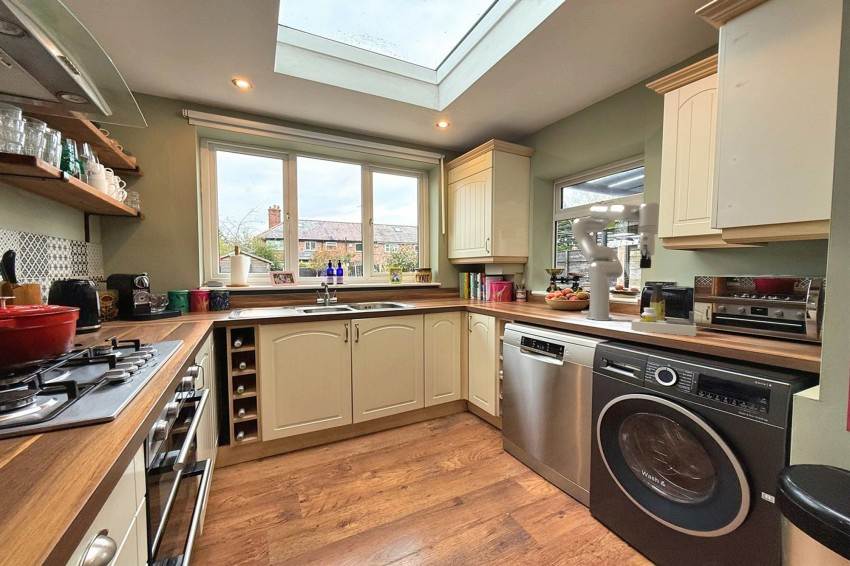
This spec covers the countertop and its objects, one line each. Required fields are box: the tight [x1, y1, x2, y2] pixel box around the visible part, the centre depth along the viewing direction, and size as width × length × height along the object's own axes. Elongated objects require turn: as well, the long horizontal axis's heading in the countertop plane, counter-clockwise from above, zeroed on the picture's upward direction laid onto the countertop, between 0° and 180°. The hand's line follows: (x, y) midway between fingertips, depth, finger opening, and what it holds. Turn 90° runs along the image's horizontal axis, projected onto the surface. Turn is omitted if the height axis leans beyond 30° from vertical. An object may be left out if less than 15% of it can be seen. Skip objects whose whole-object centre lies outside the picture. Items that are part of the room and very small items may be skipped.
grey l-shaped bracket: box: [665, 310, 695, 325], centre depth 142 cm, size 9×8×5 cm
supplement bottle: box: [641, 307, 657, 323], centre depth 149 cm, size 5×5×10 cm
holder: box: [630, 318, 697, 337], centre depth 146 cm, size 22×12×4 cm, turn 52°
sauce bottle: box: [649, 283, 666, 321], centre depth 171 cm, size 7×6×20 cm
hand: (645, 268), depth 156 cm, fingers open, 9 cm apart
